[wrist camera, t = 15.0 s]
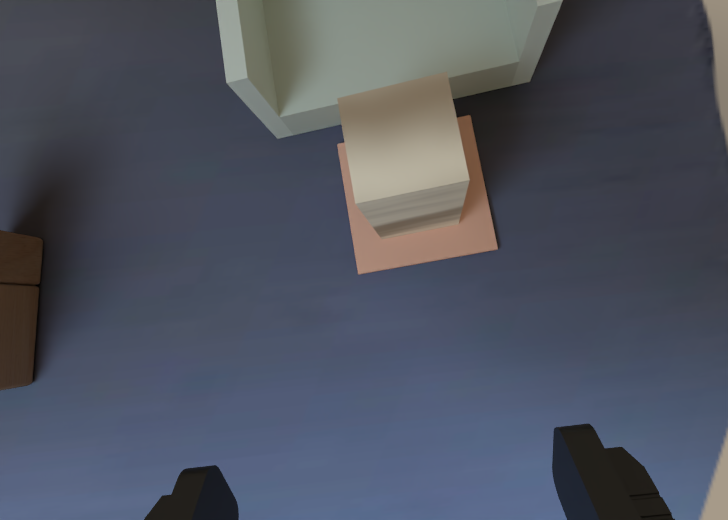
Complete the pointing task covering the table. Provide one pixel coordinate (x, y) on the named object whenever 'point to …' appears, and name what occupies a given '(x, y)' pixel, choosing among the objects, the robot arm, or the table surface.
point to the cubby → (372, 50)
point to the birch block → (405, 155)
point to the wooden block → (18, 306)
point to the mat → (430, 244)
